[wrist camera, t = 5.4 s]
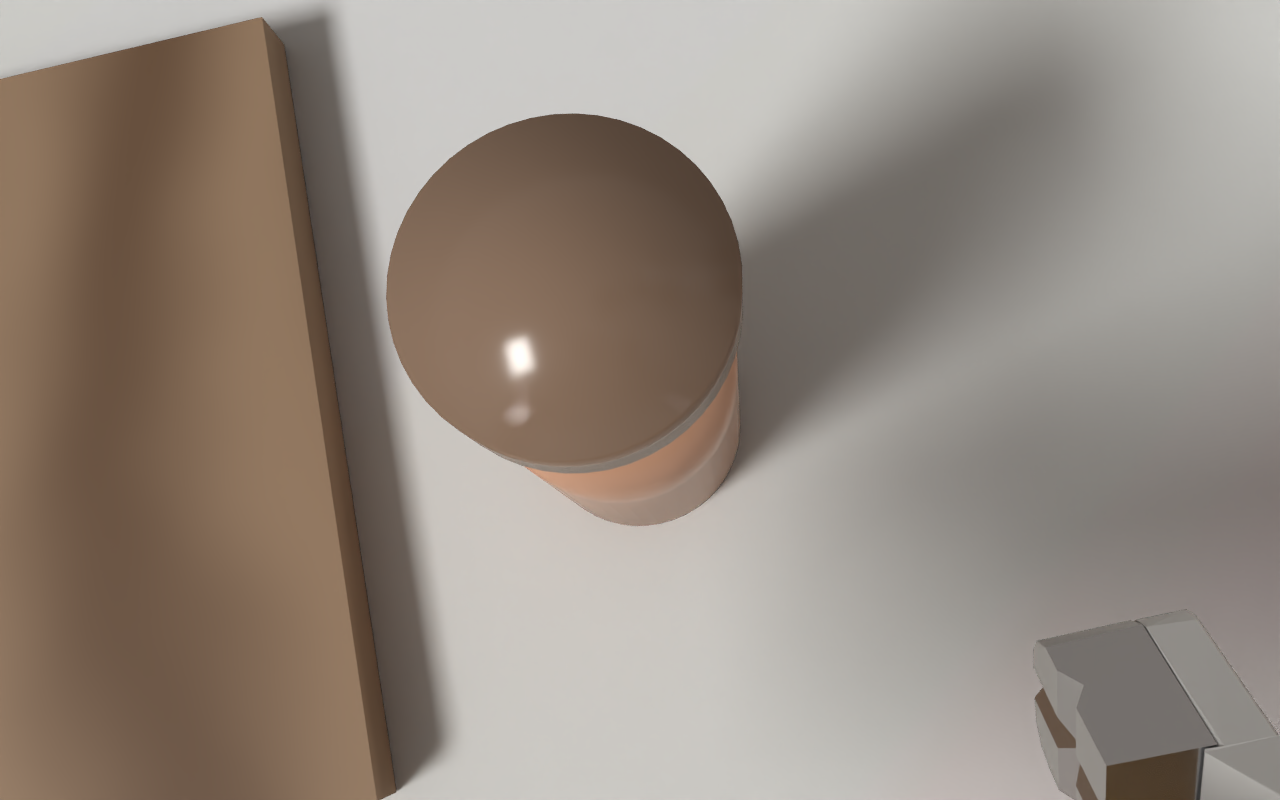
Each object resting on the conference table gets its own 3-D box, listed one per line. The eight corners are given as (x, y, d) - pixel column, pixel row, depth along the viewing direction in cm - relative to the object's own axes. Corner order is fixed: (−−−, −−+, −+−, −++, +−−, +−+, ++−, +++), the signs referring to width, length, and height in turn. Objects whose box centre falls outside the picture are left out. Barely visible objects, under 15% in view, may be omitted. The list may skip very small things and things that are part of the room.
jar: (720, 304, 24) (701, 79, 14) (765, 506, 23) (778, 416, 13) (519, 348, 24) (362, 156, 14) (556, 550, 23) (416, 494, 13)
